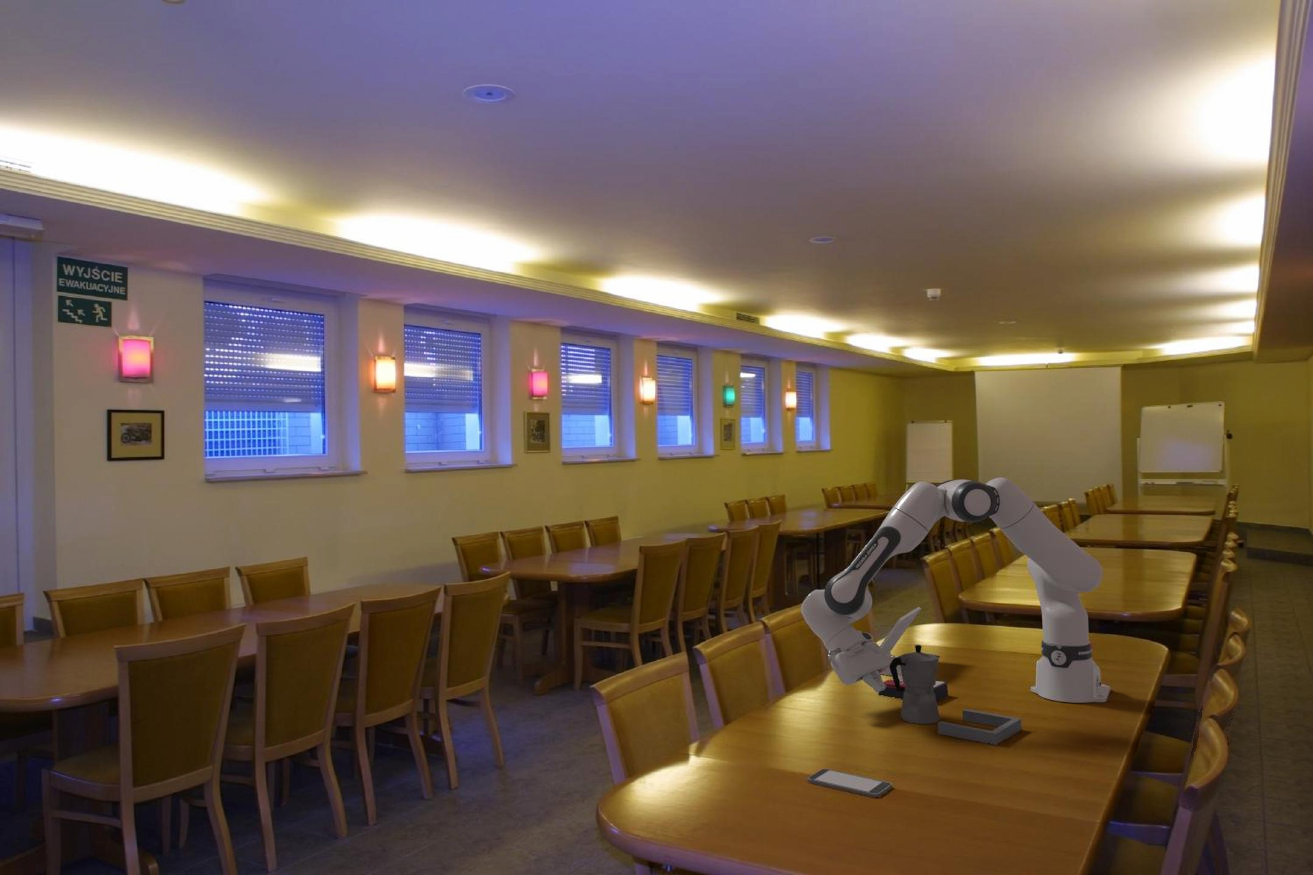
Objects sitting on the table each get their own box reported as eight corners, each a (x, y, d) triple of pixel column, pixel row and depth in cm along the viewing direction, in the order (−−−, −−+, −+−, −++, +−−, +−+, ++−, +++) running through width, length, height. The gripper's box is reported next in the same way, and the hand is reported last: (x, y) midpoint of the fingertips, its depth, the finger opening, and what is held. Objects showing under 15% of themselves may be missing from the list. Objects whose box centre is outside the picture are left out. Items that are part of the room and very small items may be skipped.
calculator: (896, 674, 251) (947, 680, 241) (897, 690, 251) (948, 696, 241) (876, 682, 243) (929, 688, 233) (878, 698, 243) (930, 705, 233)
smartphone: (877, 794, 169) (806, 778, 178) (877, 800, 169) (806, 783, 178) (893, 783, 175) (823, 767, 184) (893, 788, 175) (823, 773, 184)
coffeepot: (927, 710, 227) (925, 638, 228) (954, 719, 219) (952, 645, 219) (878, 719, 220) (876, 645, 221) (905, 729, 212) (903, 652, 212)
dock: (965, 719, 219) (965, 708, 219) (1021, 729, 210) (1021, 718, 210) (938, 733, 208) (937, 722, 208) (996, 745, 199) (995, 733, 199)
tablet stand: (929, 661, 284) (927, 606, 284) (910, 678, 262) (908, 619, 262) (872, 656, 292) (870, 603, 293) (849, 672, 271) (847, 615, 271)
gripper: (832, 644, 224) (869, 690, 217) (873, 632, 239) (908, 674, 232) (817, 660, 227) (853, 706, 220) (858, 647, 242) (893, 689, 235)
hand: (882, 689), depth 226 cm, fingers closed
